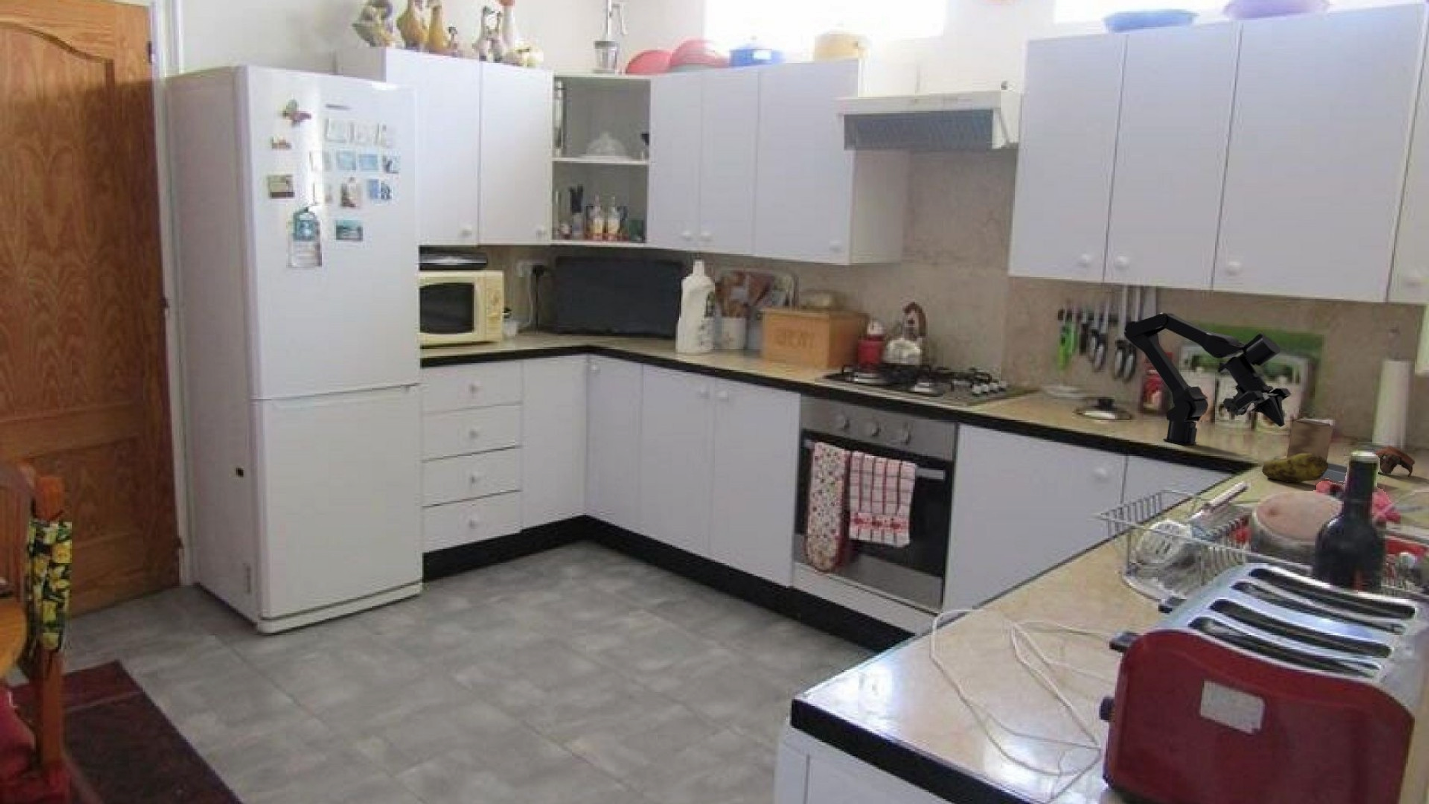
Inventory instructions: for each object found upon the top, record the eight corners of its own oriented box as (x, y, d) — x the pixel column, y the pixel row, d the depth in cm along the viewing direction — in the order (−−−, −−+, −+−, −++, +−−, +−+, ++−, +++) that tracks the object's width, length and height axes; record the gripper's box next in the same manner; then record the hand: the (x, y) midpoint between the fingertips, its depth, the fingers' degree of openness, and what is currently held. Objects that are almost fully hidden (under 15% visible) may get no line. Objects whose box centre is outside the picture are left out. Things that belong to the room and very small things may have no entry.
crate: (1284, 467, 260) (1292, 419, 258) (1295, 465, 264) (1303, 418, 262) (1313, 474, 255) (1322, 425, 252) (1324, 472, 258) (1333, 424, 256)
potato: (1275, 475, 252) (1280, 443, 250) (1329, 488, 241) (1335, 455, 240) (1256, 478, 247) (1262, 445, 246) (1310, 491, 237) (1316, 458, 235)
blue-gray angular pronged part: (1272, 467, 260) (1276, 440, 259) (1292, 464, 267) (1296, 437, 265) (1350, 485, 246) (1355, 457, 245) (1369, 481, 252) (1374, 453, 251)
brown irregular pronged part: (1360, 469, 269) (1382, 444, 268) (1396, 491, 265) (1418, 466, 263) (1364, 465, 259) (1386, 439, 257) (1400, 488, 254) (1424, 461, 253)
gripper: (1239, 392, 281) (1274, 440, 274) (1203, 395, 270) (1238, 445, 263) (1273, 368, 273) (1309, 417, 266) (1237, 370, 262) (1274, 421, 255)
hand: (1282, 425), depth 263 cm, fingers closed
